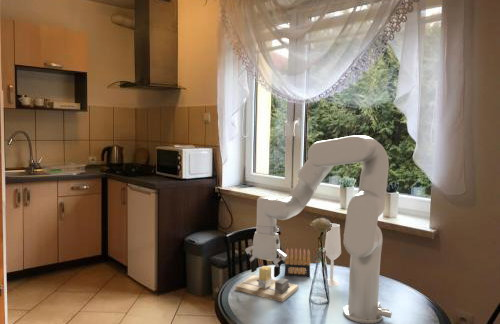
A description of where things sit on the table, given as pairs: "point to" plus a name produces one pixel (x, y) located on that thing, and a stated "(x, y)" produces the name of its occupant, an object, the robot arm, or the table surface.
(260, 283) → the sliding leg
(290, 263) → the ammunition clip
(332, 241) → the champagne flute
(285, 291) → the board
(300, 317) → the table surface
